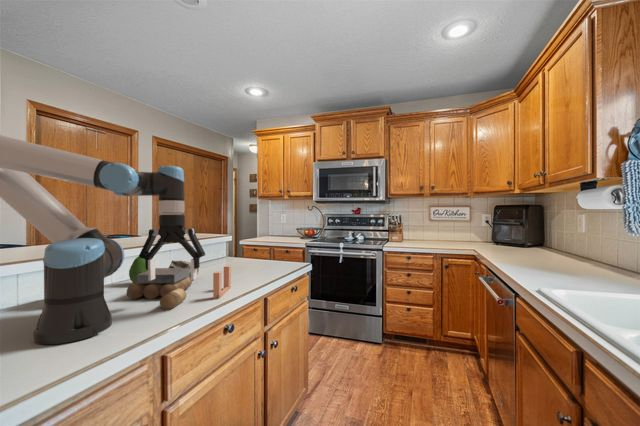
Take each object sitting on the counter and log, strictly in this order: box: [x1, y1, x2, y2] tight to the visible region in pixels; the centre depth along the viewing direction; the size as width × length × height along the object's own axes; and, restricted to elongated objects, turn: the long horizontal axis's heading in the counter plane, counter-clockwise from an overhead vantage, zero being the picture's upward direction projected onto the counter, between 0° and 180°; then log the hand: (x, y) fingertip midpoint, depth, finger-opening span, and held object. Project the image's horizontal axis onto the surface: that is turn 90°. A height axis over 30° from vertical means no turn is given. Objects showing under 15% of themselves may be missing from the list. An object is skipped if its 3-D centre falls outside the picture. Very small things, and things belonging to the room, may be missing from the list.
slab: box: [137, 267, 189, 283], centre depth 106 cm, size 12×13×3 cm
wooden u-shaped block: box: [212, 265, 232, 300], centre depth 106 cm, size 14×2×9 cm, turn 1°
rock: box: [168, 259, 200, 281], centre depth 125 cm, size 18×10×10 cm, turn 6°
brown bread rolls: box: [126, 277, 193, 300], centre depth 106 cm, size 14×16×5 cm
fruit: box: [128, 256, 148, 285], centre depth 119 cm, size 8×8×12 cm
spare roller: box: [159, 288, 187, 311], centre depth 92 cm, size 8×5×5 cm, turn 1°
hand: (173, 279), depth 92 cm, fingers open, 13 cm apart
